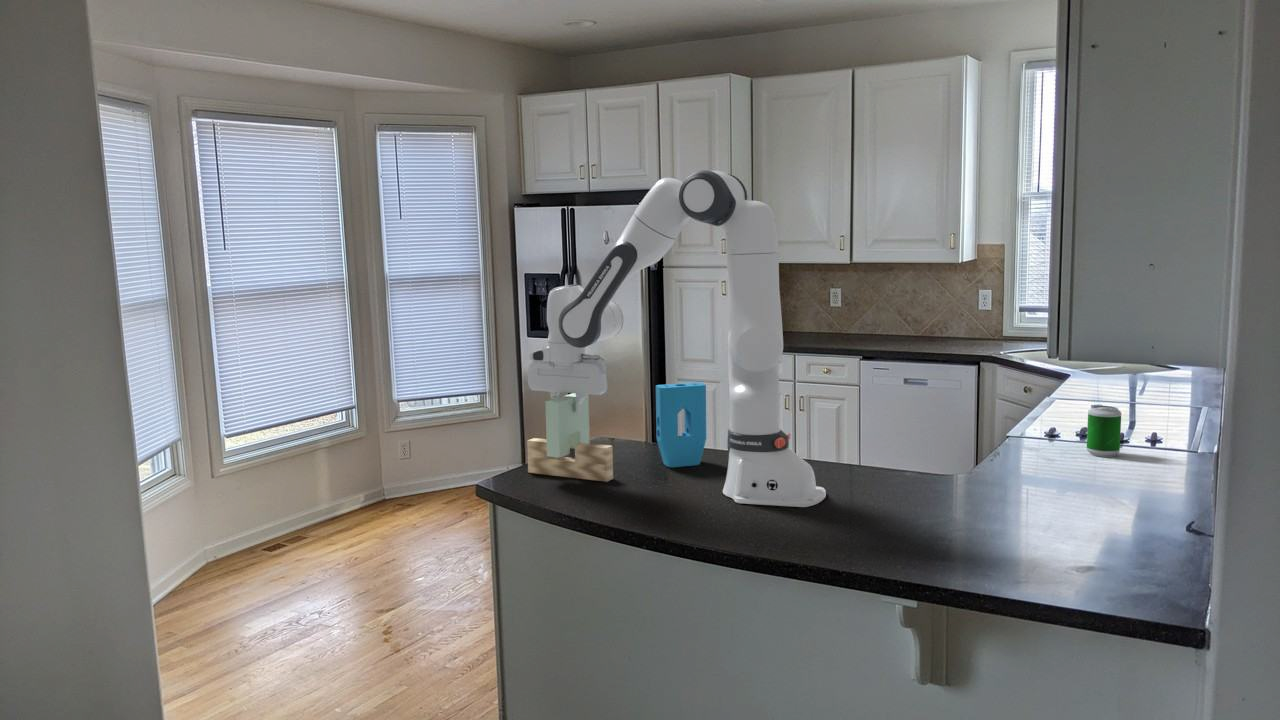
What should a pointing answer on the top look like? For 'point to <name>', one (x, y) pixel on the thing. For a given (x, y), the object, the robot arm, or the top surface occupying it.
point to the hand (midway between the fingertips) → (568, 410)
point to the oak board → (572, 461)
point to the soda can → (1103, 431)
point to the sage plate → (566, 424)
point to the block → (667, 408)
